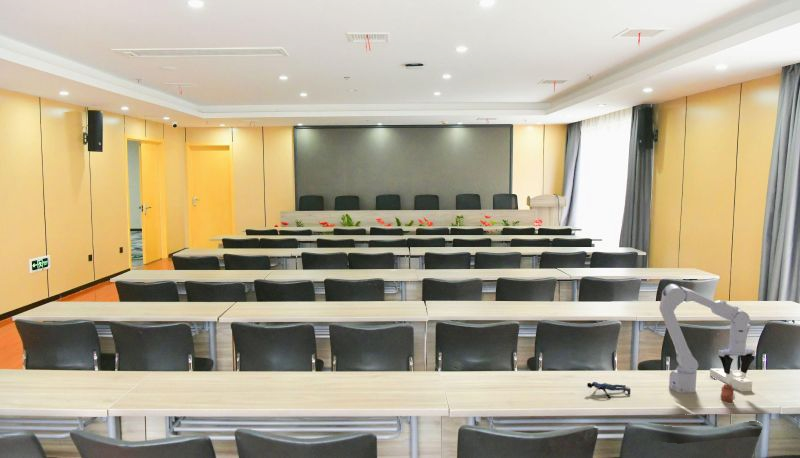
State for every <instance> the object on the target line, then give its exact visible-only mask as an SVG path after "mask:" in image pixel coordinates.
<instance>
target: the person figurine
mask: <svg viewBox="0 0 800 458" xmlns="http://www.w3.org/2000/svg"><path fill="white" fill-rule="evenodd" d="M586 387H588V388H589V389H591V388H593V387H594V388H596V389H597V390H598V391H599V390H601V391H602V390H603V392H604V393H605V395H606V396H607V398H608V399H610V398H611V396H610V395H609V394H608V392H607V390H608V391H612V392H613V391H623V392H627V395H631V388H630V386H628V385H627V386H626V384H624V385H623V384H612V383H611V384H610V383H606V382H604V383H599V382H597V381H593V382H588V383H587V384H586Z"/></svg>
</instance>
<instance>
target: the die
mask: <svg viewBox="0 0 800 458" xmlns="http://www.w3.org/2000/svg"><path fill="white" fill-rule="evenodd" d="M731 386H732V388H733V389H735V390H737V391H739V392H750V391H751V392H752V390H753V381H752V380H750V379H748V378H747V377H746V378H744V377H736V378H732V385H731Z"/></svg>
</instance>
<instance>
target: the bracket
mask: <svg viewBox="0 0 800 458" xmlns="http://www.w3.org/2000/svg"><path fill="white" fill-rule="evenodd" d="M709 376H710V377H711V376H712V377H714V378H716V379H718V380H717V381H722V382H724V383H726V384H727V385H731V386H732V378H736V377H744V378H746V379H747V373H743V372H741V367H739V370H738V371H737V372H736V373H735V372H733V369H731V368H730V374H726V373H724V368H723V367H722V368H709ZM712 377H711V378H712ZM714 378H713V379H714ZM716 379H715V380H716Z"/></svg>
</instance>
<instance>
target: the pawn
mask: <svg viewBox="0 0 800 458" xmlns="http://www.w3.org/2000/svg"><path fill="white" fill-rule="evenodd" d="M734 389H735V388H733V387H732V385H729V384H727V383H726V384H723V385H722V386H721V393H720V396H721V400H722V401H723V402H722V403H724V402H727V403H726V404H729V403H732V402H733V393H734V392H735V391H734Z"/></svg>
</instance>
